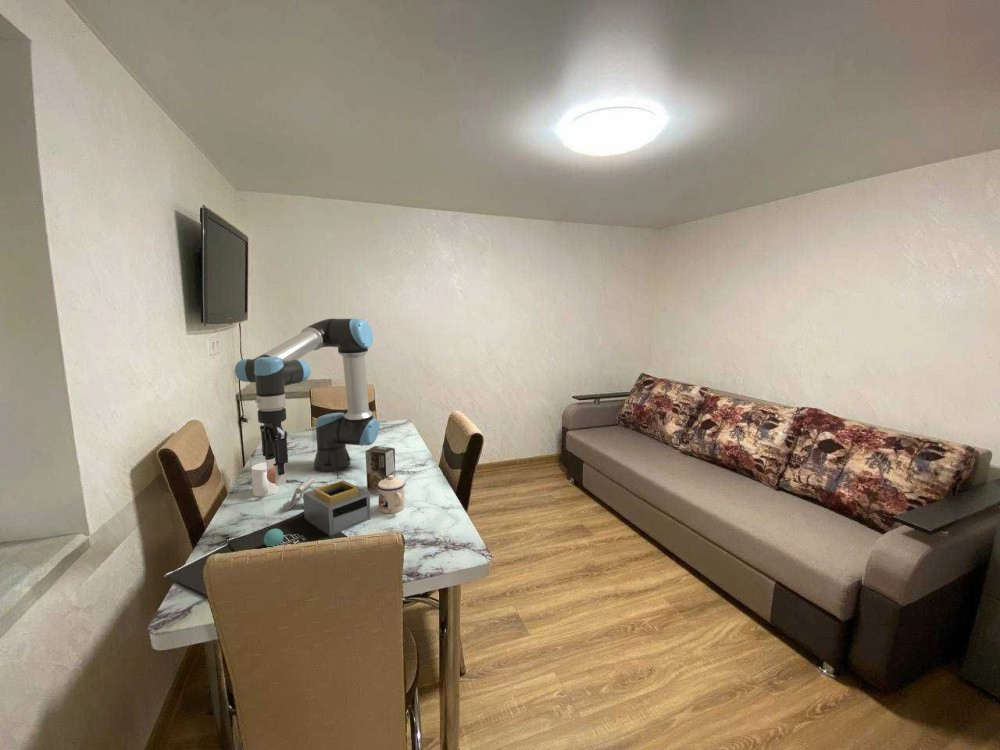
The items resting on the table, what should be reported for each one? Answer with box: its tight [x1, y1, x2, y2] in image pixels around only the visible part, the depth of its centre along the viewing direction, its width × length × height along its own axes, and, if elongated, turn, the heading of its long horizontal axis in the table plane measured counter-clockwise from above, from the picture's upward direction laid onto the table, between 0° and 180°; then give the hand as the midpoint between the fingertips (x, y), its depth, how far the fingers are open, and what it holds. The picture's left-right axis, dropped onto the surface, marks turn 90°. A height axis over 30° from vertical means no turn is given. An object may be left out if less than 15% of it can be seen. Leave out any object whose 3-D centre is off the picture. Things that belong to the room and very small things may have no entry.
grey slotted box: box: [302, 480, 372, 537], centre depth 133 cm, size 16×14×10 cm
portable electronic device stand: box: [282, 477, 315, 512], centre depth 143 cm, size 9×8×8 cm
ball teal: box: [263, 528, 285, 548], centre depth 118 cm, size 5×5×5 cm
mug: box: [250, 461, 279, 497], centre depth 152 cm, size 8×10×12 cm
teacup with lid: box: [377, 475, 406, 514], centre depth 141 cm, size 12×9×12 cm
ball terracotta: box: [267, 467, 275, 484], centre depth 127 cm, size 5×5×5 cm
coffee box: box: [365, 445, 397, 494], centre depth 156 cm, size 9×6×16 cm
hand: (276, 481), depth 128 cm, fingers closed on ball terracotta, 5 cm apart
